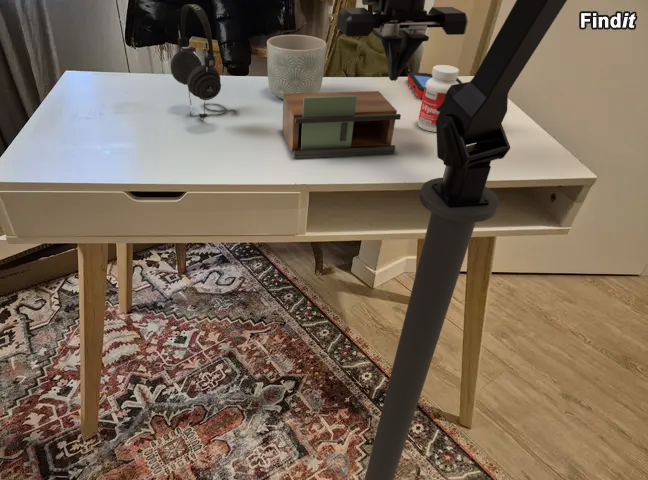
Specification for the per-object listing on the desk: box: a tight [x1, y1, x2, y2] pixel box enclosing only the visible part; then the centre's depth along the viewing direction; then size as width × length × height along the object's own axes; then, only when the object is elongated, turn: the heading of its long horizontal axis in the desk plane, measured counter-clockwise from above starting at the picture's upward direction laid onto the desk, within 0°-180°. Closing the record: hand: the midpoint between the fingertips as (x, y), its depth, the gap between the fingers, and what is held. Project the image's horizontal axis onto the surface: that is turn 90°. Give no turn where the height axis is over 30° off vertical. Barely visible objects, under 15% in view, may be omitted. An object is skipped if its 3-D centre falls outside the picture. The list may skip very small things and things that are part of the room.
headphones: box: [170, 3, 237, 122], centre depth 92 cm, size 15×11×20 cm
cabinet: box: [281, 90, 402, 160], centre depth 89 cm, size 12×18×7 cm, turn 100°
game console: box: [407, 71, 463, 100], centre depth 114 cm, size 14×13×2 cm
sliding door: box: [301, 95, 357, 150], centre depth 84 cm, size 1×9×9 cm, turn 100°
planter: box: [266, 34, 327, 100], centre depth 107 cm, size 12×12×11 cm
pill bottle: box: [417, 64, 460, 133], centre depth 95 cm, size 6×6×11 cm
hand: (392, 79), depth 80 cm, fingers closed
